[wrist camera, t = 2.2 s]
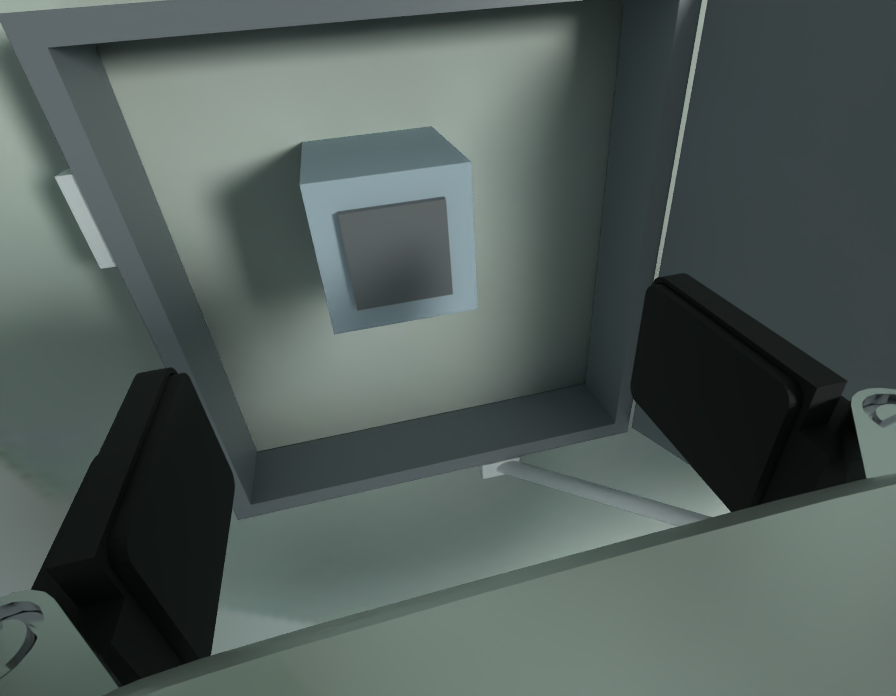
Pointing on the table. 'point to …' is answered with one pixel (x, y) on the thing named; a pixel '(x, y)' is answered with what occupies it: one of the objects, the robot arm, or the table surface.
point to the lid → (794, 179)
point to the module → (390, 226)
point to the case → (406, 443)
